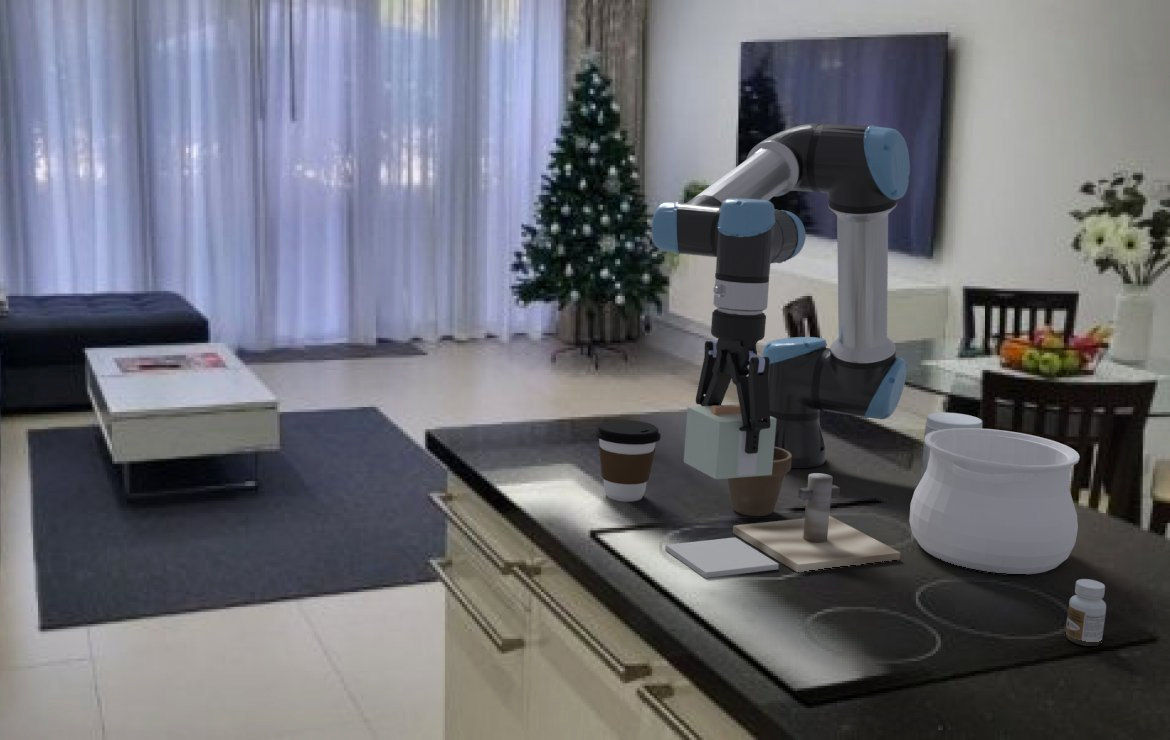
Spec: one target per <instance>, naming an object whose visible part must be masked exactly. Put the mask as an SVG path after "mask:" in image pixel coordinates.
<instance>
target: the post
mask: <svg viewBox="0 0 1170 740" xmlns="http://www.w3.org/2000/svg"><path fill="white" fill-rule="evenodd" d="M833 479H834V477H833V476H832V475H830V474H826V473H820V472H819V473H818V472H817V473H815V472H813V473H809V474H808V477H807V487H800V488H798V496H797V497H798V498H799V499H801V500H803V501H805V509H804V510H805V514H804V518H796V519H795V518H794V519H785V520H777V521H776V520H775V521H768V522H767V521H765V522H756V523H745V524H737V525H734V524H733V527H732V534H733V535H735V536H737V537H739V539H742V540H743V541H744V542H747V543H749V544H750V545H752V546H753V547H755V548H757V549H758V550H760V551H762V552H763V553H764V554H767V556H770V557H772V558H773V559H775V560H776V561H778V562H780V563H781V564H783V565H785V566H786V567H788V568H789V569H791V570H793V571H794V572H796V573H798V572H799V573H804V571H807V572H810V571H809V570H815V571H819V570H818V569H823V570H825V569H824V568H831V569H833V568H832V567H840V566H848V567H851V566H850V565H856V566H862V565H861V564H864V565H867V564H866V563H873V564H875V563H874V562H881V563H885V562H884V561H889V562H893V561H892V560H897V561H900V560H899V559H901V552H900V551H898V550H896V549H895V548H893V547H891V546H889V545H886V544H885V543H883V542H881V541H880V540H877V539H875V538H873V537H871V536H869V535H868V534H866V533H864V532H862V531H860V530H858V529H856V528H854V527H852V526H851V525H848V524H846V523H844V522H843V521H841V520H839V519H836V518H835V517H833V516H831V515H830V512H831V502H832V498H839V497H840V493H841V487H840V486H837V485H835V484H834V485H833ZM882 561H883V562H882ZM840 568H841V567H840Z"/></svg>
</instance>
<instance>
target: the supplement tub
mask: <svg viewBox="0 0 1170 740" xmlns="http://www.w3.org/2000/svg"><path fill="white" fill-rule="evenodd" d="M924 426H925V427H924V436H923V447H922V448H923V449H922V459H921V460H922V461H921V471H920V481H921V479H922V477H923V475H924V474H925V472H926V470H927V467H928V462H929V457H930V447H928V446H927V445H926V444H925V436H926V435H927V434H928V433H930V432H933V431H937V430H942V429H951V428H980V429H983V419H981V418H979V417H976V416H972V415H969V414H965V413H964V414H963V413H957V412H933V413H930V414H927V416H926V422H925V425H924ZM920 481H919V482H920Z"/></svg>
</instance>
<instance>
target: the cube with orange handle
mask: <svg viewBox="0 0 1170 740" xmlns="http://www.w3.org/2000/svg"><path fill="white" fill-rule="evenodd" d="M686 409H687V410H686V425H685V437H684V438H685V439H684V452H683V453H684V454H683V463H685V464H686V465H689V466H690V467H692V468H694V469H696V470H698V471H699V472H701V473H703V474H705V475H707V476H709V477H711V478H712V479H714V480H722V479H723V480H725V479H727V480H728V478H739V477H752V476H765V475H772V467H773V455H774V443H775V431H776V420H777V419H776V418H774V417H771V416H770V428H769V429H762V430H760V433H759V445H758V452H757V460H756V472H755V475H742V476H738V475H736V468H737V455H738V443H739V428H740V427H742V426H743V421H742V416H741V410H740V405H739V404H738V403H737V404H721V405H717V406H701V405H698V406H687V408H686ZM762 420H763V419H762ZM750 422H751V419H750Z"/></svg>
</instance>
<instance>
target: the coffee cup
mask: <svg viewBox="0 0 1170 740" xmlns="http://www.w3.org/2000/svg"><path fill="white" fill-rule="evenodd" d="M659 431H660V430H659V428H658V427H657V425H654V424H652V423H649V422H645V421H640V420H631V419H612V420H606V421H602V422H601V423H599V425H598V426H597V428H596V430H595V431H594V436H595V437H597V439H598V440H599V443H598V451H599V461H600V472H601V477H602V479H603V480H602V481H603V488H604V489H603V490H604V494H605V496H606V497H607V498H608V499H610V500H612V501H613V500H614V501H617V502H626V503H627V502H636V501H640V500H642V499H643V498H644V497H643V496H644V495H645V493H646V489H647V484H648V482H649V479H650V475H651V471H652V467H653V461H654V457H655V454H656V453H655V451H656V443H657V442H659V441H660V440H661V435H662V434H661V433H660V432H659Z"/></svg>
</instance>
